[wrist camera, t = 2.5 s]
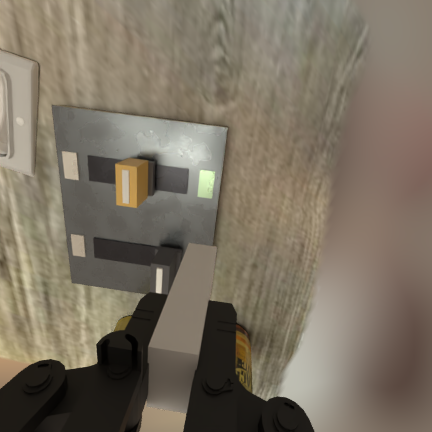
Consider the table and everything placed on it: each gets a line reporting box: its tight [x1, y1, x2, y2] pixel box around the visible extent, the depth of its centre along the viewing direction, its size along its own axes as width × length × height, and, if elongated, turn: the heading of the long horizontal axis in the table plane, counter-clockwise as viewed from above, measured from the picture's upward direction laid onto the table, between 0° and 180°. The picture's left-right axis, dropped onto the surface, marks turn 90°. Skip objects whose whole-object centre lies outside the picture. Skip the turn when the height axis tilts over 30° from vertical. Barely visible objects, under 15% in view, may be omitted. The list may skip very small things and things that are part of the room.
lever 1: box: [115, 158, 155, 208], centre depth 26 cm, size 4×3×4 cm
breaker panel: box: [52, 105, 228, 294], centre depth 32 cm, size 22×18×2 cm
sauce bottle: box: [235, 324, 252, 393], centre depth 30 cm, size 7×6×20 cm
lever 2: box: [150, 246, 182, 295], centre depth 30 cm, size 4×3×4 cm
